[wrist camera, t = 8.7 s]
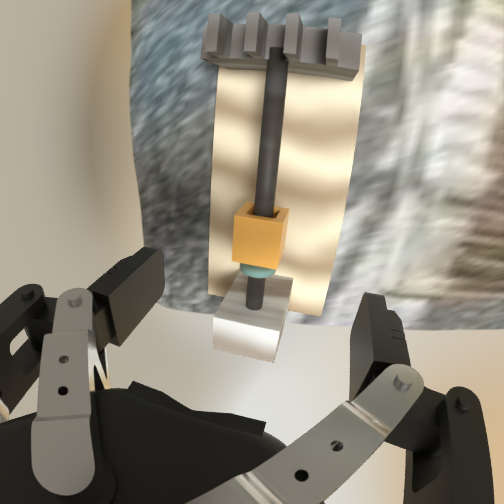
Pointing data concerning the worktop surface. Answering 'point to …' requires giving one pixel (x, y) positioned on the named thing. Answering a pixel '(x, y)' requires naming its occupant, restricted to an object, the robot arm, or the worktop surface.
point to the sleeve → (259, 237)
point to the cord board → (279, 166)
